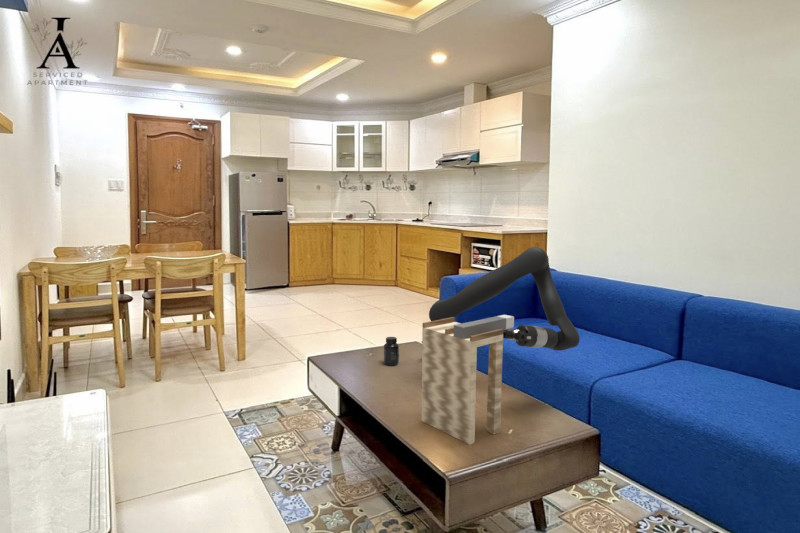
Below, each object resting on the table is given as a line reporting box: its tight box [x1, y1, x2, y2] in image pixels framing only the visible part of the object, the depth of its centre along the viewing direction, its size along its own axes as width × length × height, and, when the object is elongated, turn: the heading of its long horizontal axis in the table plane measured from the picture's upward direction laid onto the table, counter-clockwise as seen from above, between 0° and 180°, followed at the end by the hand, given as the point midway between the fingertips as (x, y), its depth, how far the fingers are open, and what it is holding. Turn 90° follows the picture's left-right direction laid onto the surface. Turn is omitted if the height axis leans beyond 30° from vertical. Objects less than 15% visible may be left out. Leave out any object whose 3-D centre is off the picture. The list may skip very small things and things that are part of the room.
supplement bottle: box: [383, 336, 400, 367], centre depth 234 cm, size 7×7×12 cm
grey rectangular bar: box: [454, 314, 515, 339], centre depth 165 cm, size 4×24×4 cm, turn 129°
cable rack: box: [420, 317, 504, 445], centre depth 168 cm, size 22×14×34 cm, turn 39°
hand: (494, 332), depth 177 cm, fingers open, 8 cm apart
